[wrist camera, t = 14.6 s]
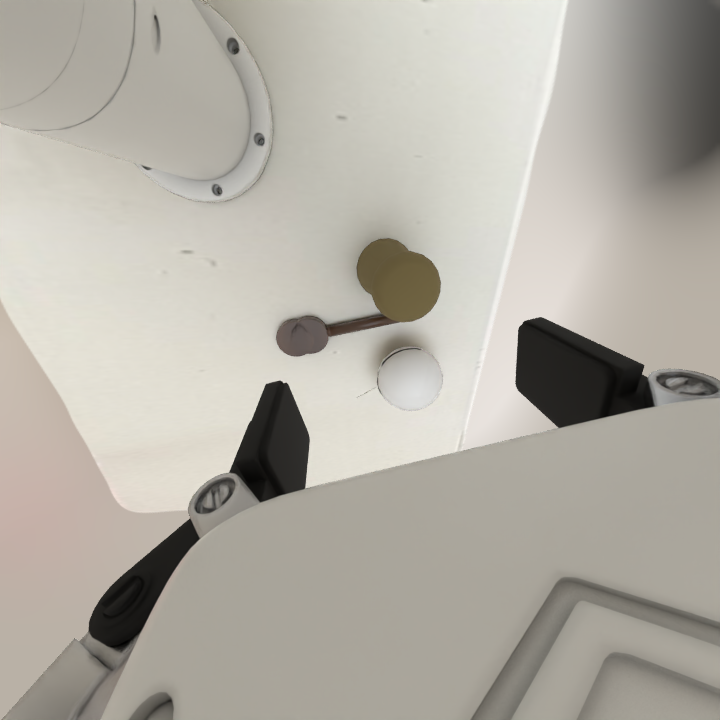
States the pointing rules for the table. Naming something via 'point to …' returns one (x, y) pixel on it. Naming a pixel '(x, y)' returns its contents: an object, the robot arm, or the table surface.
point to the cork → (398, 280)
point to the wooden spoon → (319, 333)
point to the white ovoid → (409, 378)
